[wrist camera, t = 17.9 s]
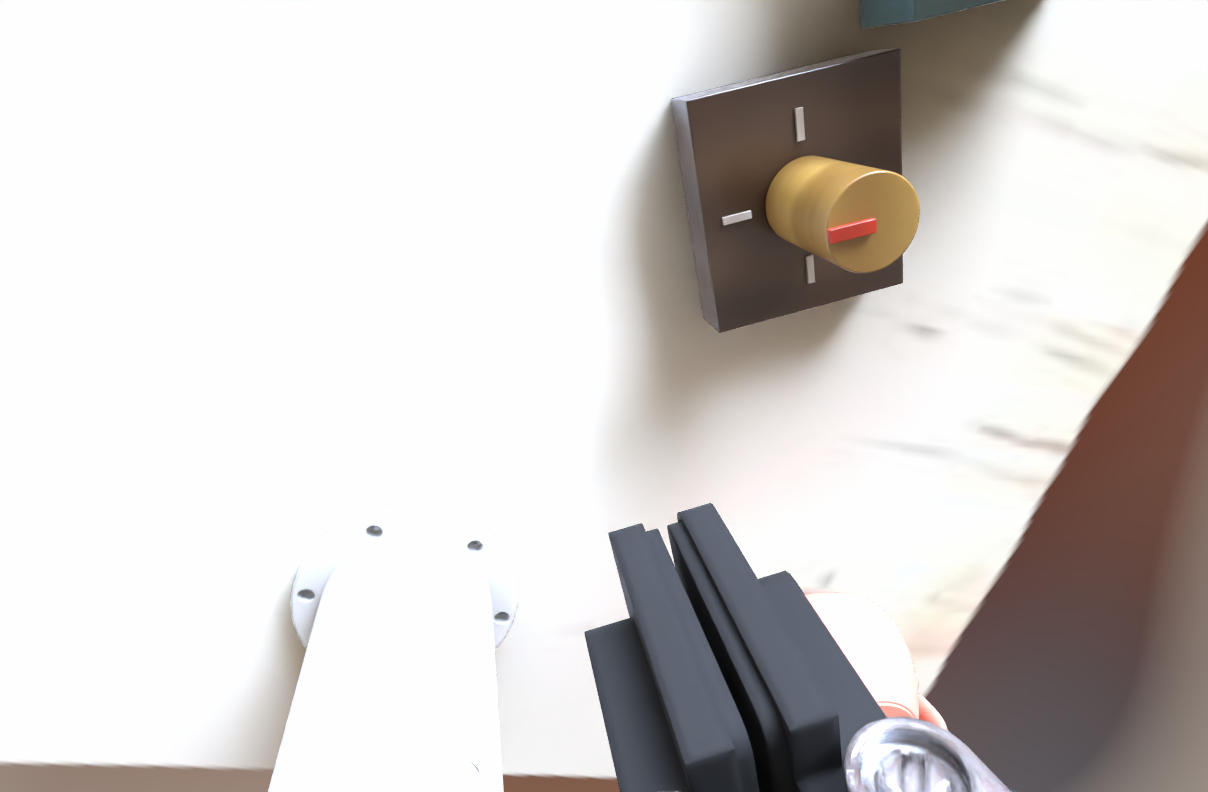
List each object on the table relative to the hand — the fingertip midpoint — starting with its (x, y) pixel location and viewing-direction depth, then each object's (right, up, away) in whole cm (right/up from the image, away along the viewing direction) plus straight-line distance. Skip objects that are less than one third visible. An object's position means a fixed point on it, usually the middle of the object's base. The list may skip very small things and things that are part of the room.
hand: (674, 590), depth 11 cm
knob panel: (+8, +13, +24) cm, 28 cm away
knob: (+8, +12, +21) cm, 26 cm away
